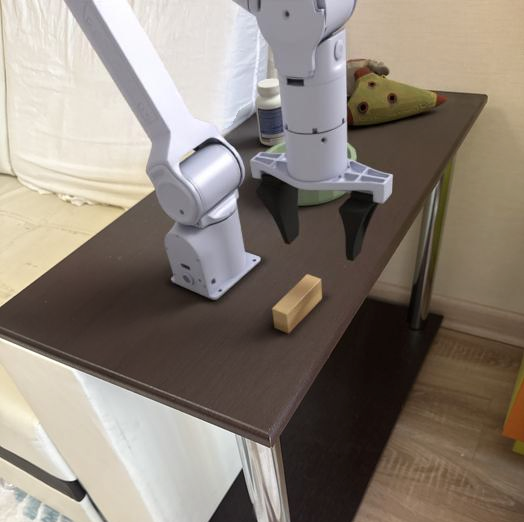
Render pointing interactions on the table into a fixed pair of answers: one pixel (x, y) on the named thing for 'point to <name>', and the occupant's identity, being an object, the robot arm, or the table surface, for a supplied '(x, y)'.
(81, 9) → the robot arm
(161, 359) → the table surface
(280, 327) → the block
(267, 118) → the pill bottle
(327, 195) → the bowl
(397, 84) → the ocarina
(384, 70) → the figurine
